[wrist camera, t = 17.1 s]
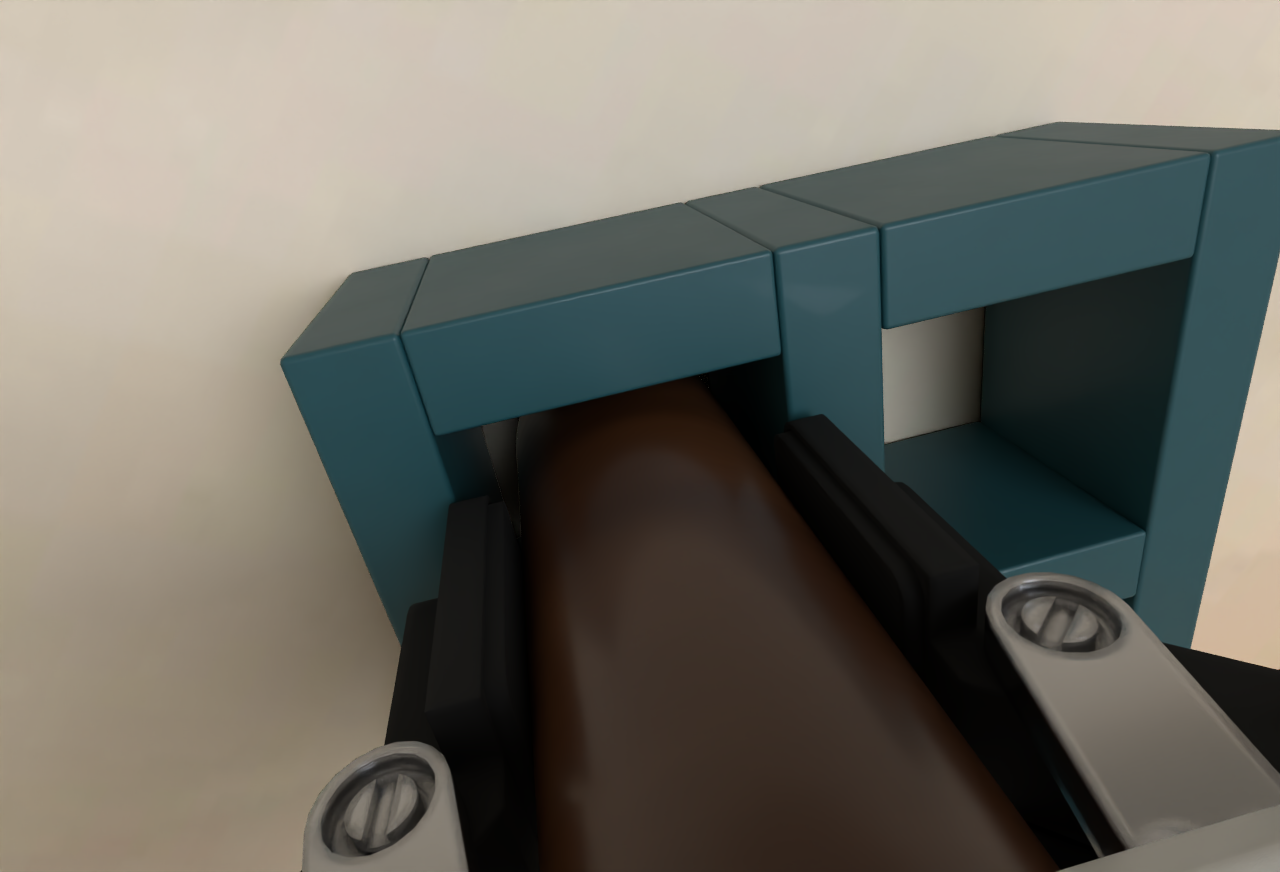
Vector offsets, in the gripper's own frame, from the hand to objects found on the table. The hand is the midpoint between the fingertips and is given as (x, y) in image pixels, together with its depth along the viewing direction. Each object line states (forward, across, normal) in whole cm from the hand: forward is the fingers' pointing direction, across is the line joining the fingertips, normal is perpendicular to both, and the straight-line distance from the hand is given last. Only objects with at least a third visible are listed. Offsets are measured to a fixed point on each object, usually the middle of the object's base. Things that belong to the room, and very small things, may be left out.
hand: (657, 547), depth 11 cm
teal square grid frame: (+5, -3, +3) cm, 7 cm away
